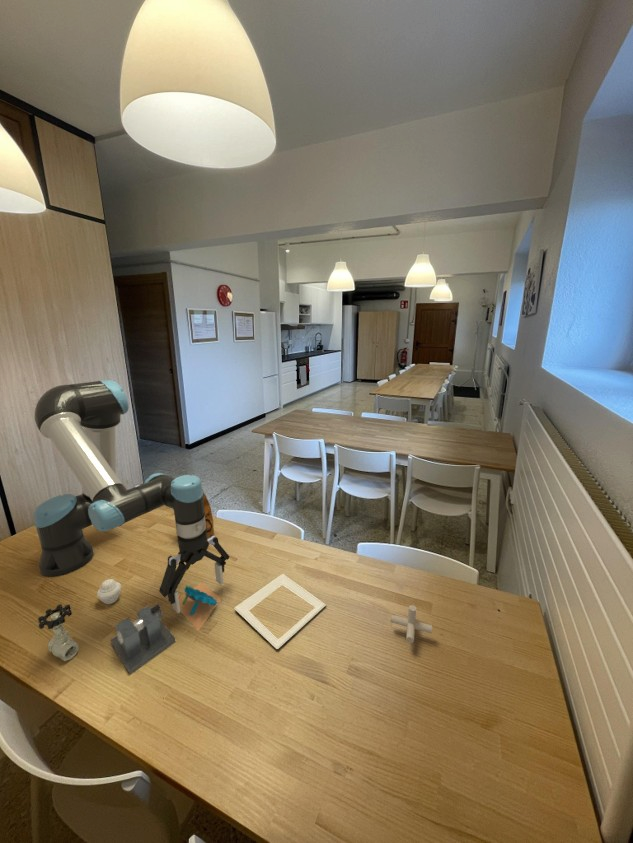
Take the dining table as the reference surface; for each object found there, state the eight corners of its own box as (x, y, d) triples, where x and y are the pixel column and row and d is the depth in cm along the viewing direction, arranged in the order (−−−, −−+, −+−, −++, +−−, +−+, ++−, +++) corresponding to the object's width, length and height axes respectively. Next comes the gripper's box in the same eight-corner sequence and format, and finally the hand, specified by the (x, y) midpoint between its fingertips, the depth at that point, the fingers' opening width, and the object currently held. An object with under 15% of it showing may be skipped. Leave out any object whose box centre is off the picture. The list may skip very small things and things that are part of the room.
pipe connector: (430, 628, 89) (433, 598, 86) (429, 662, 80) (433, 630, 77) (392, 618, 92) (394, 588, 89) (387, 650, 83) (390, 618, 80)
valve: (57, 671, 78) (46, 630, 74) (42, 659, 80) (30, 620, 77) (86, 647, 83) (77, 609, 80) (71, 637, 86) (61, 600, 83)
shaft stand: (111, 644, 84) (105, 618, 82) (155, 616, 92) (151, 592, 90) (130, 675, 77) (124, 647, 75) (175, 642, 85) (171, 616, 83)
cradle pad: (171, 602, 97) (171, 601, 97) (202, 583, 105) (202, 582, 104) (198, 631, 88) (198, 630, 88) (230, 608, 95) (230, 607, 95)
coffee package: (202, 552, 119) (196, 497, 113) (175, 544, 123) (168, 491, 117) (219, 536, 128) (214, 485, 122) (193, 530, 132) (187, 480, 126)
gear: (224, 602, 96) (202, 597, 88) (214, 624, 93) (190, 620, 86) (200, 586, 102) (177, 580, 94) (189, 606, 99) (165, 601, 92)
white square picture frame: (326, 609, 95) (326, 604, 94) (277, 655, 82) (277, 648, 81) (282, 578, 107) (282, 572, 107) (234, 613, 94) (233, 607, 93)
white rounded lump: (95, 610, 95) (91, 590, 93) (104, 594, 100) (100, 574, 98) (119, 606, 96) (115, 586, 94) (126, 590, 102) (122, 571, 100)
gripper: (151, 560, 78) (162, 631, 84) (238, 517, 96) (242, 578, 102) (138, 547, 83) (149, 615, 89) (223, 508, 101) (228, 567, 107)
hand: (199, 595), depth 95 cm, fingers open, 13 cm apart
